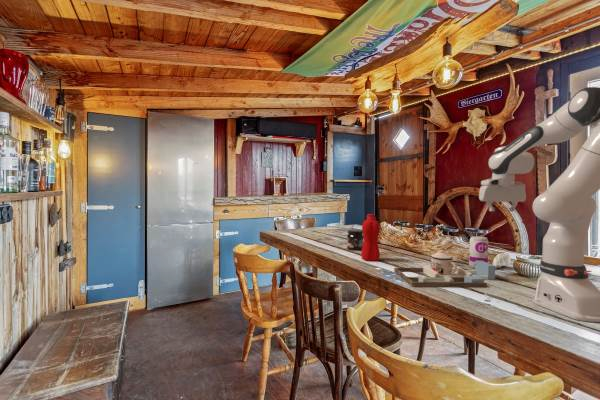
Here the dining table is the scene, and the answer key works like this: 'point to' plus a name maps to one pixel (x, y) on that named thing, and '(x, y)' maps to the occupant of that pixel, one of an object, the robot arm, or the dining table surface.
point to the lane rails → (414, 283)
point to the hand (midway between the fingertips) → (501, 211)
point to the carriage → (468, 271)
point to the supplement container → (355, 240)
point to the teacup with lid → (442, 263)
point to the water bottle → (370, 239)
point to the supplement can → (478, 250)
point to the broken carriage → (450, 279)
